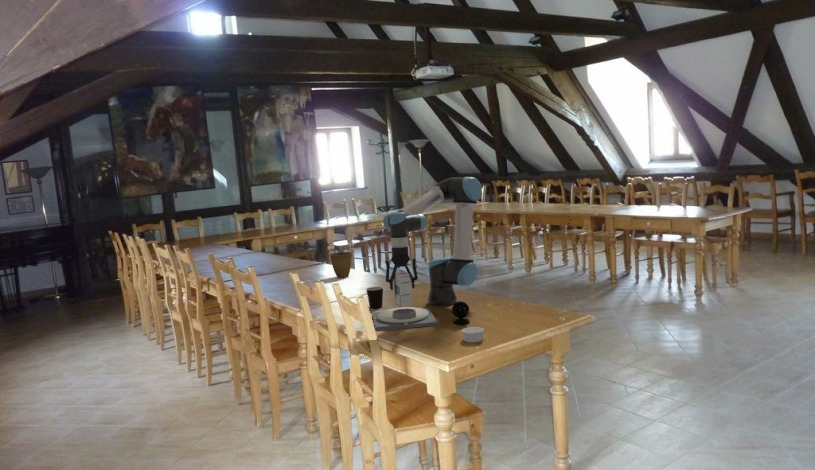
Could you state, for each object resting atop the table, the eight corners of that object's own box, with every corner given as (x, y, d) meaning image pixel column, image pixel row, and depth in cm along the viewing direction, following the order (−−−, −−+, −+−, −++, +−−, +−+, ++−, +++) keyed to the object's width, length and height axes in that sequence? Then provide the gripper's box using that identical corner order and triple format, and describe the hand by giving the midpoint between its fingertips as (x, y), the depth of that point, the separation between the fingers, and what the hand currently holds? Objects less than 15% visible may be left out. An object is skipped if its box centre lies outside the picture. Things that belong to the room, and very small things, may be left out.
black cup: (382, 309, 321) (380, 290, 319) (365, 309, 322) (364, 290, 321) (387, 303, 332) (386, 285, 331) (371, 304, 334) (370, 285, 332)
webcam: (452, 325, 282) (450, 303, 280) (453, 321, 289) (452, 299, 288) (469, 325, 281) (468, 303, 279) (470, 320, 288) (469, 299, 287)
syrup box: (412, 304, 288) (410, 273, 286) (400, 306, 285) (398, 275, 283) (405, 302, 293) (404, 271, 291) (394, 304, 290) (392, 273, 288)
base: (429, 310, 312) (428, 306, 311) (437, 325, 284) (437, 321, 284) (372, 315, 309) (372, 311, 309) (375, 330, 281) (374, 326, 281)
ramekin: (472, 344, 252) (471, 334, 251) (458, 340, 259) (457, 330, 259) (488, 339, 257) (488, 329, 257) (474, 335, 264) (473, 325, 264)
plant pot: (357, 277, 415) (356, 253, 413) (337, 280, 407) (335, 256, 405) (348, 274, 428) (346, 250, 426) (328, 277, 420) (326, 253, 418)
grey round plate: (425, 308, 309) (424, 300, 309) (432, 320, 285) (431, 311, 285) (376, 312, 307) (375, 304, 307) (379, 325, 283) (378, 316, 283)
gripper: (377, 249, 281) (381, 299, 284) (422, 245, 283) (425, 295, 286) (377, 246, 288) (380, 296, 291) (420, 243, 290) (423, 292, 293)
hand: (402, 295), depth 288 cm, fingers closed on syrup box, 7 cm apart
